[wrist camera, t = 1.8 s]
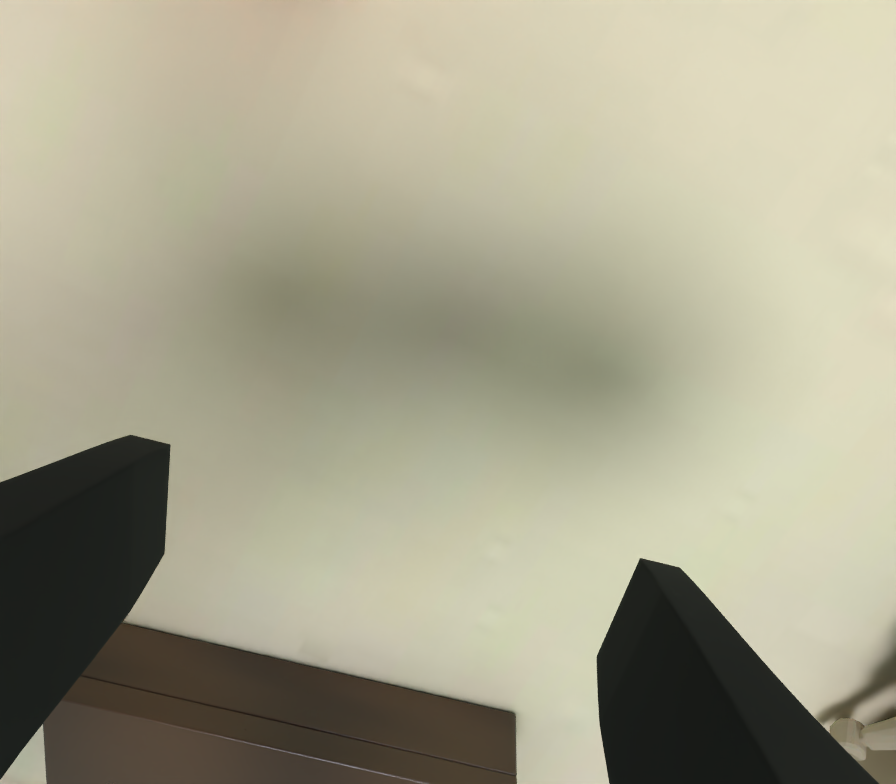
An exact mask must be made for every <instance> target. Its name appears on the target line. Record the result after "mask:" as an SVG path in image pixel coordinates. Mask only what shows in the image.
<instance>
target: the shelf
mask: <svg viewBox="0 0 896 784" xmlns="http://www.w3.org/2000/svg"><path fill="white" fill-rule="evenodd" d="M43 730H44V747H45V763H46V780H47V784H517V778H516V775H517V769H516V716H515V714H513V713H509V712H504V711H500V710H496V709H491V708H487V707H483V706H478V705H474V704H470V703H465V702H461V701H457V700H452V699H448V698H444V697H439V696H435V695H431V694H426V693H422V692H418V691H413V690H409V689H405V688H400V687H396V686H392V685H387V684H383V683H379V682H374V681H370V680H366V679H361V678H357V677H353V676H348V675H344V674H340V673H336V672H331V671H327V670H323V669H318V668H314V667H310V666H305V665H301V664H297V663H292V662H288V661H284V660H279V659H275V658H271V657H266V656H262V655H258V654H253V653H249V652H245V651H240V650H236V649H232V648H227V647H223V646H219V645H214V644H210V643H206V642H201V641H197V640H193V639H188V638H184V637H180V636H175V635H171V634H167V633H162V632H158V631H154V630H149V629H145V628H141V627H136V626H132V625H128V624H123V623H121V624H120V625H119V627H118V628H117V629H116V631H115V632H114V633H113V634H112V636H111V637H110V638H109V640H108V641H107V642H106V643H105V645H104V646H103V647H102V649H101V650H100V651H99V653H98V654H97V655H96V656H95V658H94V659H93V660H92V662H91V663H90V664H89V665H88V667H87V668H86V669H85V670H84V672H83V673H82V674H81V676H80V677H79V678H78V679H77V681H76V682H75V683H74V684H73V686H72V687H71V688H70V690H69V691H68V692H67V693H66V695H65V696H64V697H63V698H62V700H61V701H60V702H59V704H58V705H57V706H56V707H55V709H54V710H53V711H52V712H51V714H50V715H49V716H48V718H47V719H46V720H45V721H44V723H43Z"/></svg>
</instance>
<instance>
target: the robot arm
mask: <svg viewBox="0 0 896 784" xmlns="http://www.w3.org/2000/svg"><path fill="white" fill-rule="evenodd" d="M169 462H170V444H166V443H162V442H158V441H154V440H149V439H145V438H141V437H137V436H133V435H129V436H125V437H122V438H119V439H116V440H113V441H110V442H107V443H104V444H101V445H98V446H96V447H93V448H90V449H88V450H85V451H82V452H80V453H77V454H74V455H72V456H69V457H67V458H64V459H61V460H59V461H56V462H54V463H51V464H48V465H46V466H43V467H40V468H38V469H35V470H32V471H30V472H27V473H25V474H22V475H19V476H17V477H14V478H11V479H9V480H6V481H3V482H1V483H0V779H1V778H2V777H3V775H4V774H5V773H6V771H7V770H8V768H9V767H10V766H11V764H12V763H13V762H14V760H15V759H16V757H17V756H18V755H19V753H20V752H21V751H22V749H23V748H24V747H25V746H26V744H27V743H28V742H29V740H30V739H31V738H32V737H33V735H34V734H35V733H36V732H37V730H38V729H39V728H40V726H41V725H42V724H43V723H44V721H45V720H46V719H47V718H48V716H49V715H50V714H51V712H52V711H53V710H54V709H55V707H56V706H57V705H58V704H59V702H60V701H61V700H62V698H63V697H64V696H65V695H66V693H67V692H68V691H69V690H70V688H71V687H72V686H73V684H74V683H75V682H76V681H77V679H78V678H79V677H80V676H81V674H82V673H83V672H84V670H85V669H86V668H87V667H88V665H89V664H90V663H91V662H92V660H93V659H94V658H95V656H96V655H97V654H98V653H99V651H100V650H101V649H102V647H103V646H104V645H105V643H106V642H107V641H108V640H109V638H110V637H111V636H112V634H113V633H114V632H115V631H116V629H117V628H118V627H119V625H120V624H121V623H122V621H123V620H124V619H125V617H126V616H127V615H128V613H129V612H130V611H131V609H132V607H133V606H134V604H135V602H136V601H137V599H138V598H139V596H140V594H141V593H142V591H143V589H144V588H145V586H146V584H147V583H148V581H149V579H150V578H151V576H152V574H153V572H154V571H155V569H156V567H157V565H158V564H159V562H160V560H161V558H162V557H163V555H164V552H165V534H166V516H167V498H168V480H169ZM597 683H598V704H599V721H600V729H601V735H602V742H603V748H604V753H605V759H606V765H607V771H608V777H609V783H610V784H879V783H878V782H877V781H876V780H875V779H874V778H873V777H872V776H871V775H870V774H869V773H868V772H867V771H866V770H865V769H864V768H863V767H862V766H861V765H860V764H859V763H858V762H857V761H856V760H855V759H854V758H853V757H852V756H851V755H850V754H849V753H848V752H847V751H846V750H845V749H844V748H843V747H842V746H841V745H840V744H839V743H838V742H837V741H836V740H835V739H834V738H833V737H832V736H831V735H830V733H829V732H828V731H827V730H826V729H825V728H824V727H823V726H822V725H821V724H820V723H819V722H818V721H817V720H816V719H815V718H814V717H813V716H812V715H811V714H810V713H809V712H808V710H807V709H806V708H805V707H804V706H803V705H802V704H801V703H800V702H799V701H798V700H797V699H796V698H795V696H794V695H793V694H792V693H791V692H790V691H789V690H788V689H787V688H786V687H785V685H784V684H783V683H782V682H781V681H780V680H779V679H778V678H777V677H776V675H775V674H774V673H773V672H772V671H771V670H770V669H769V668H768V666H767V665H766V664H765V663H764V662H763V661H762V660H761V659H760V657H759V656H758V655H757V654H756V653H755V652H754V651H753V649H752V648H751V647H750V646H749V645H748V644H747V643H746V641H745V640H744V639H743V638H742V637H741V636H740V634H739V633H738V632H737V631H736V630H735V629H734V628H733V626H732V625H731V624H730V623H729V622H728V621H727V619H726V618H725V617H724V616H723V615H722V614H721V612H720V611H719V610H718V609H717V608H716V607H715V606H714V604H713V603H712V602H711V601H710V600H709V599H708V598H707V596H706V595H705V594H704V593H703V592H702V591H701V590H700V588H699V587H698V586H697V585H696V584H695V583H694V582H693V581H692V580H691V579H690V578H689V577H688V576H687V575H686V574H685V572H684V571H683V570H682V569H681V568H679V567H675V566H671V565H667V564H663V563H658V562H654V561H650V560H646V559H642V558H640V560H639V562H638V564H637V567H636V569H635V571H634V573H633V576H632V578H631V580H630V582H629V585H628V587H627V589H626V591H625V594H624V596H623V598H622V600H621V603H620V605H619V607H618V610H617V612H616V614H615V616H614V619H613V621H612V623H611V625H610V628H609V630H608V632H607V634H606V637H605V639H604V641H603V643H602V646H601V648H600V650H599V653H598V655H597Z"/></svg>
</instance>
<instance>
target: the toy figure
mask: <svg viewBox="0 0 896 784" xmlns="http://www.w3.org/2000/svg"><path fill="white" fill-rule="evenodd" d="M830 735H831V736H832V737H833V738H834V739H835V740H836V741H837V742H838V743H839V744H840V745H841V746H842V747H843V748H844V749H845V750H846V751H847V752H848V753H849V754H850V755H851V756H852V757H853V758H854V759H855V760H856V761H857V762H858V763H859V764H860V765H861V766H862V767H863V768H864V769H865V770H866V771H867V772H868V773H869V774H870V775H871V776H872V777H873V778H874V779H875V780H876V781H877V782H878V783H879V784H896V717H894V718H891V719H887V720H884V721H881V722H877V723H874V724H871V725H867V726H864V725H863V724H862V723H860V722H858V721H856V720H854V719H850V718H844V719H839V720H837V721H835V722H834V723H833V724H832V725H831V726H830Z"/></svg>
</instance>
